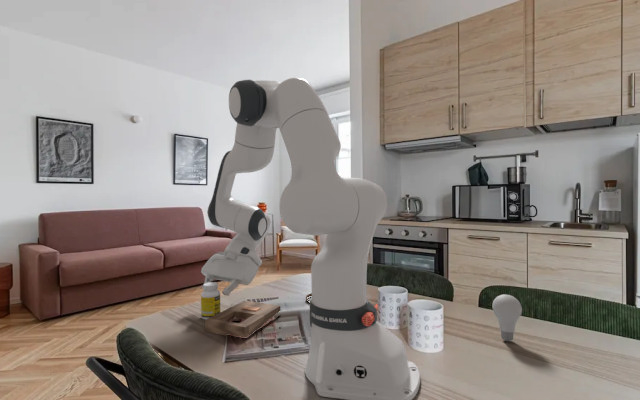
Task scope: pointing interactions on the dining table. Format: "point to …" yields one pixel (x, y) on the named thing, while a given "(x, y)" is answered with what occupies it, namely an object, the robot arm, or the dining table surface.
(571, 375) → the dining table surface
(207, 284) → the supplement bottle
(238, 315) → the block
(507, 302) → the lightbulb
